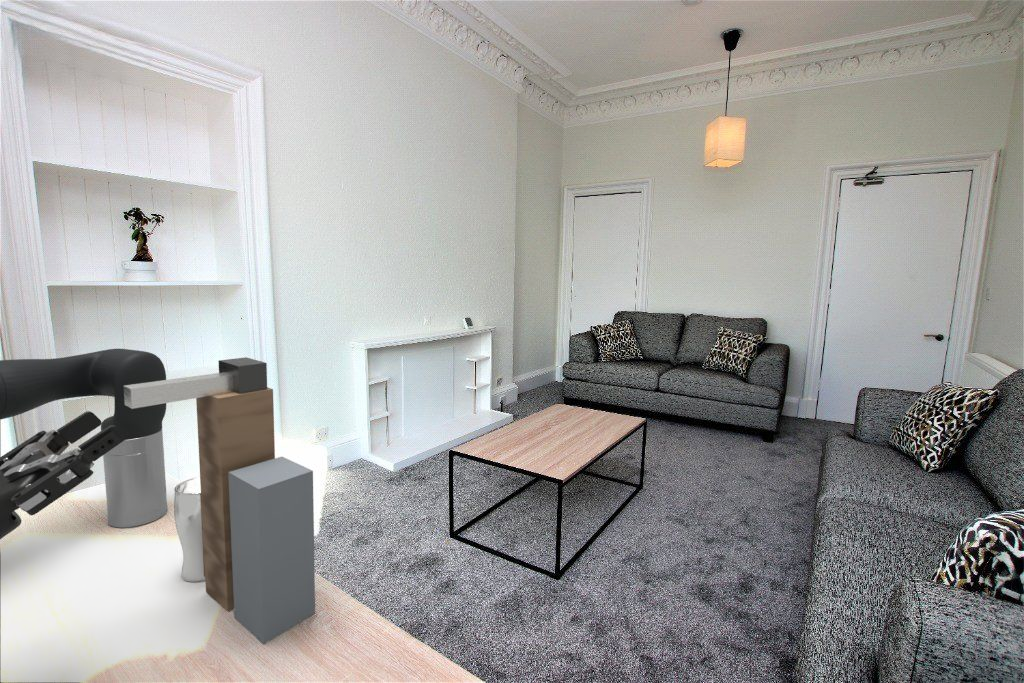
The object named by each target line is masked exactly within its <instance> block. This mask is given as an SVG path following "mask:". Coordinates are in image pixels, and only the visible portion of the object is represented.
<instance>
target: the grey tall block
mask: <svg viewBox="0 0 1024 683" xmlns="http://www.w3.org/2000/svg"><path fill="white" fill-rule="evenodd" d="M228 474H229V498H230V522H231V546H232V570H233V594H234V609H233V613H234V614H233V615H234V619H235V620H236V621H237V622H238V623H239V624H240V625H242V626H243V627H244V628H245V629H246V630H247V631H248V632H249V633H250V634H251V635H253V637H255V638H256V639H257V640H258V641H259V642H260V643H261V644H263V645H265V644H267V643H269V642H270V641H272V640H273V639H275V638H277V637H278V636H280V635H282V634H283V633H285V632H286V631H288V630H290V629H291V628H293V627H295V626H296V625H298V624H300V623H302V622H303V621H305V620H306V619H309V618H310V617H311V616H313V615H315V614H316V591H315V590H316V589H315V588H316V586H315V585H316V583H315V582H316V581H315V580H316V577H315V572H316V570H315V525H314V524H315V521H314V520H315V519H314V518H315V517H314V514H315V512H314V470H312V469H310V468H308V467H305V466H304V465H302V464H299V463H297V462H294V461H292V460H291V459H288V458H286V457H284V456H278V457H275V459H271V460H268V461H265V462H261V463H258V464H255V465H251V466H248V467H244V468H241V469H238V470H234V471H231V472H228Z"/></svg>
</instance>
